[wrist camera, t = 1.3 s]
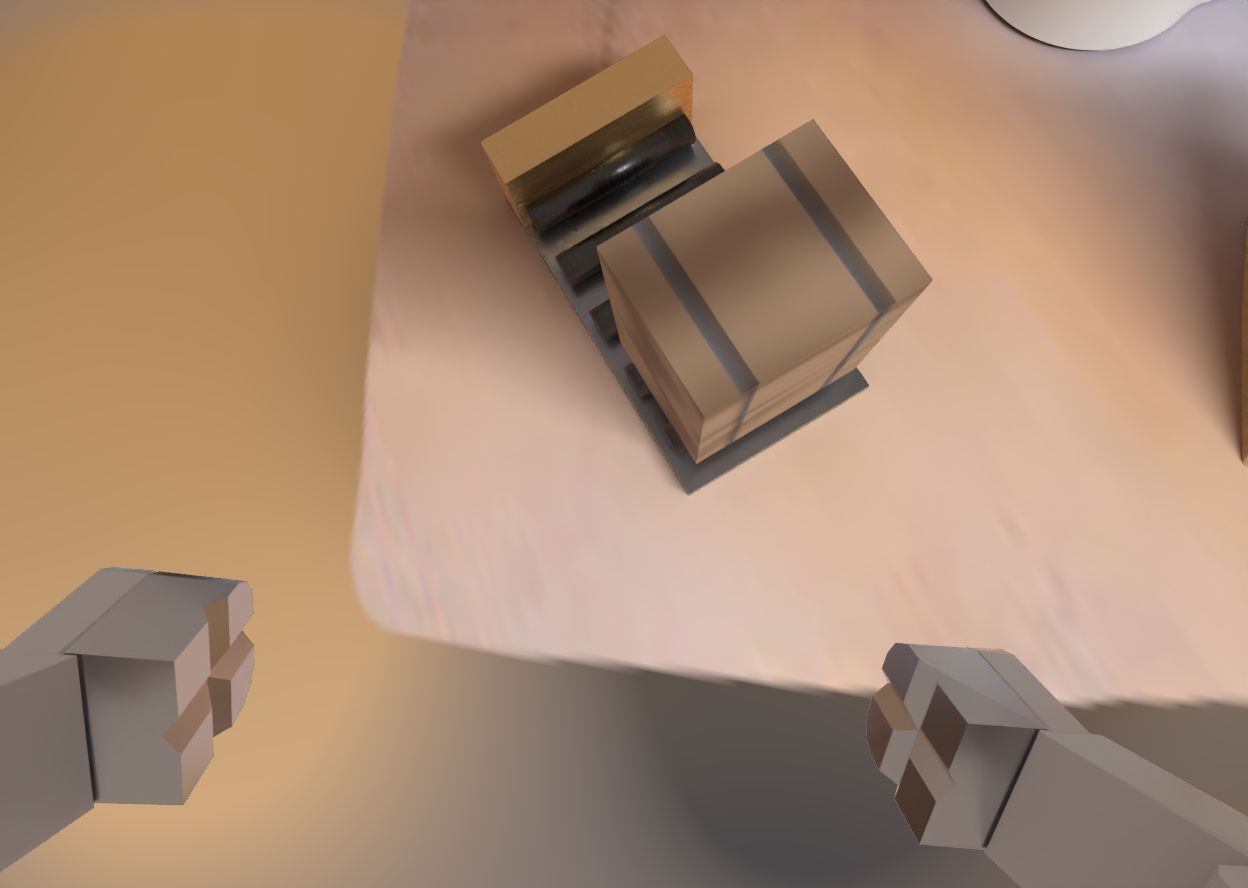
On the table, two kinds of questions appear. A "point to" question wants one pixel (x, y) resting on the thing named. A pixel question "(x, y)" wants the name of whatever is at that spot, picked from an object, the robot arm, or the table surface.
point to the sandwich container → (1245, 357)
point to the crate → (757, 288)
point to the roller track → (621, 358)
